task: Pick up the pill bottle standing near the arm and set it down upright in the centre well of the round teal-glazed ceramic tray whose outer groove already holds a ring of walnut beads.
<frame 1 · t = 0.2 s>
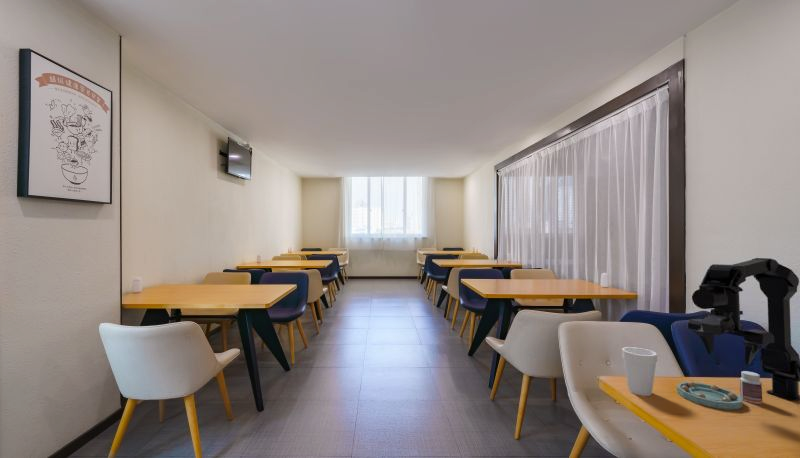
hand: (728, 359, 103), 14 cm above the table, fingers open, 9 cm apart
foam cup: (639, 392, 113), on the table
pill bottle: (751, 401, 107), on the table
tray: (708, 398, 108), on the table
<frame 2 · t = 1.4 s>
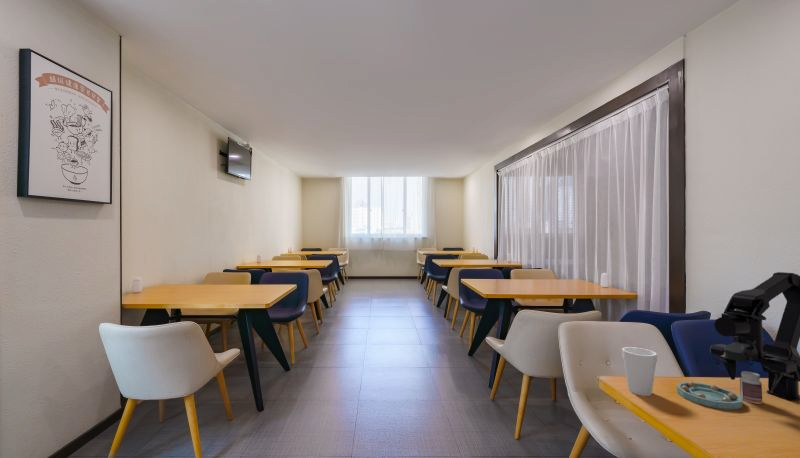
hand: (751, 385, 107), 5 cm above the table, fingers open, 9 cm apart
nothing on the table moved.
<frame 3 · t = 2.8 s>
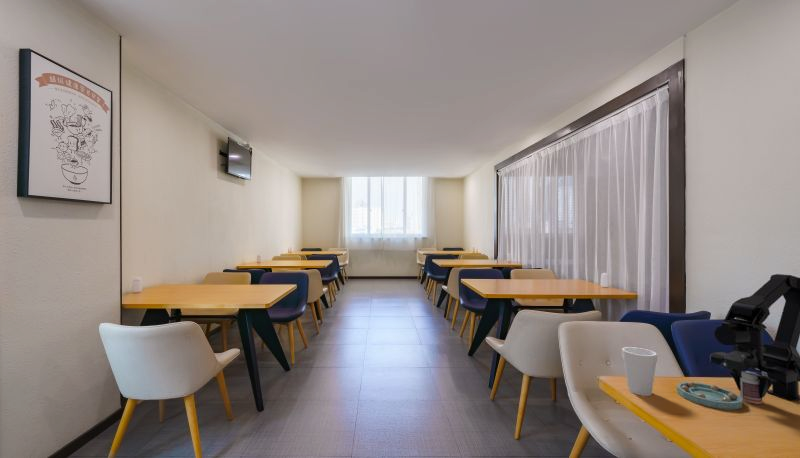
hand: (751, 394, 107), 2 cm above the table, fingers closed on pill bottle, 5 cm apart
pill bottle: (751, 401, 107), on the table, touching gripper
everything else where it was.
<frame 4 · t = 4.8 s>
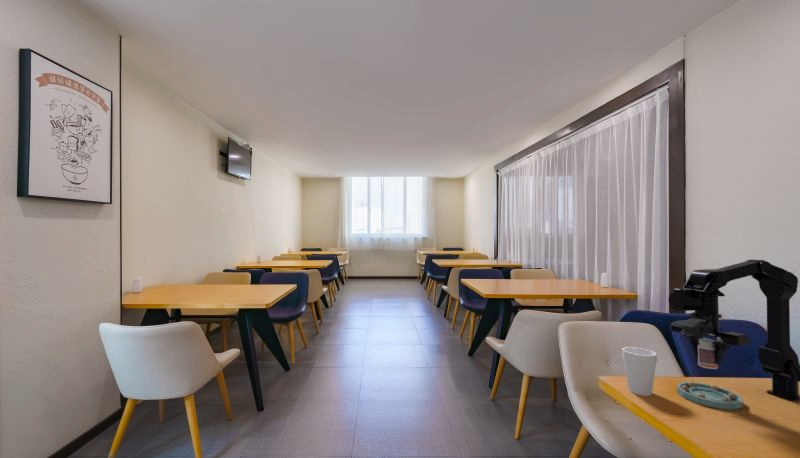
hand: (707, 360, 109), 12 cm above the table, fingers closed on pill bottle, 5 cm apart
pill bottle: (707, 367, 109), point 10 cm above the table, touching gripper
everything else where it was.
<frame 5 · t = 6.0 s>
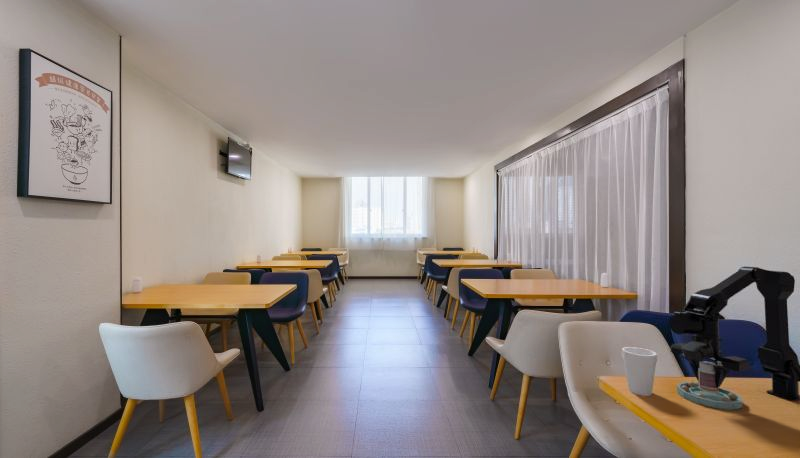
hand: (708, 383, 109), 5 cm above the table, fingers closed on pill bottle, 5 cm apart
pill bottle: (708, 390, 108), point 2 cm above the table, touching gripper
everything else where it was.
when the fingers open (4 cm above the table, at t = 6.9 s): pill bottle drops 1 cm, resting on tray.
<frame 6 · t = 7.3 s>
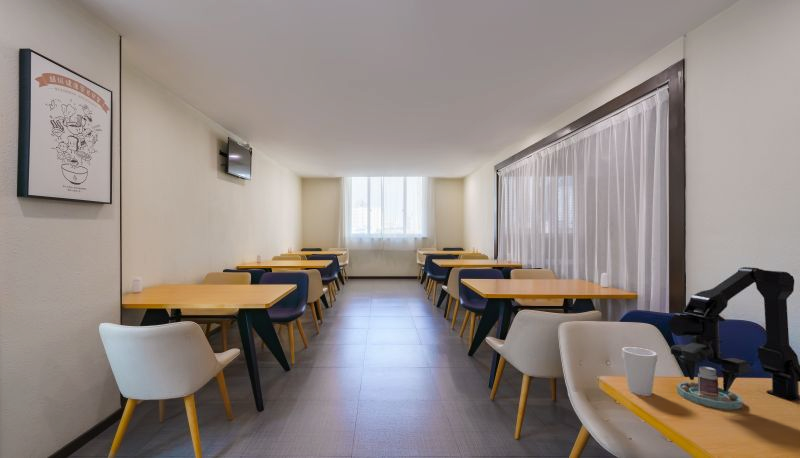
hand: (708, 385, 109), 4 cm above the table, fingers open, 9 cm apart
pill bottle: (708, 396, 108), point 1 cm above the table, touching tray
everything else where it was.
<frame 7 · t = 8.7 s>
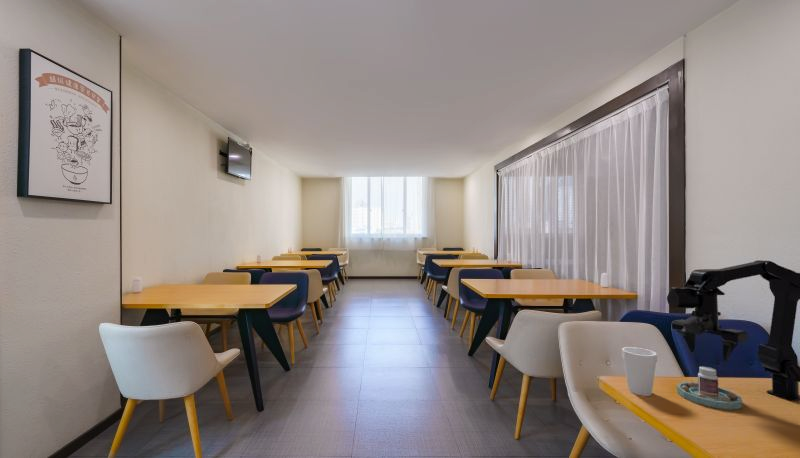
hand: (708, 356, 113), 12 cm above the table, fingers open, 9 cm apart
nothing on the table moved.
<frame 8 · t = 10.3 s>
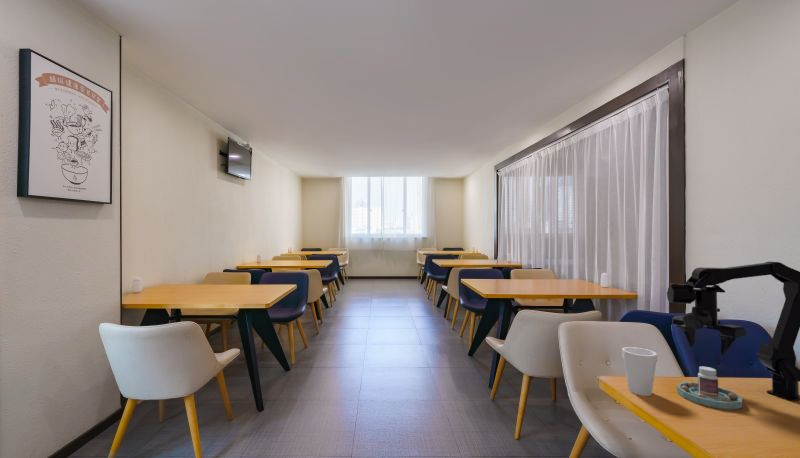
hand: (707, 350, 118), 12 cm above the table, fingers open, 9 cm apart
nothing on the table moved.
at the end: pill bottle 0.1 cm off-centre on the tray, point 0.6 cm above the tray's base; pill bottle tilted 0°; the gripper is holding nothing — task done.
